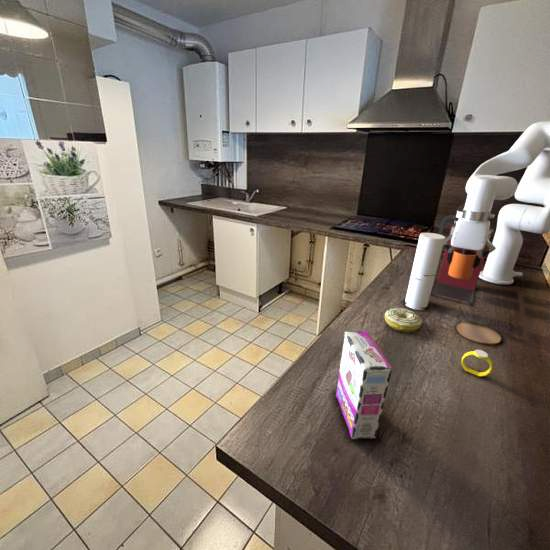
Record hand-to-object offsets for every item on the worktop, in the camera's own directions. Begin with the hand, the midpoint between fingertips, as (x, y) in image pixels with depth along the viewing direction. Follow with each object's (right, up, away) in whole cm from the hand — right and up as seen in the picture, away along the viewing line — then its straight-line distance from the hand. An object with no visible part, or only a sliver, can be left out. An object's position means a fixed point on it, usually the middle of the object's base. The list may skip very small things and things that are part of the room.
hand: (461, 264), depth 105 cm
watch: (-20, -28, -34) cm, 48 cm away
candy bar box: (-52, -32, -46) cm, 76 cm away
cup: (0, -4, +2) cm, 4 cm away
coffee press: (+25, +4, +44) cm, 51 cm away
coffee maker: (+2, -10, +8) cm, 13 cm away
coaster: (-7, -21, -19) cm, 29 cm away
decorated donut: (-28, -19, -15) cm, 37 cm away
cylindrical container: (-18, -15, -3) cm, 23 cm away
